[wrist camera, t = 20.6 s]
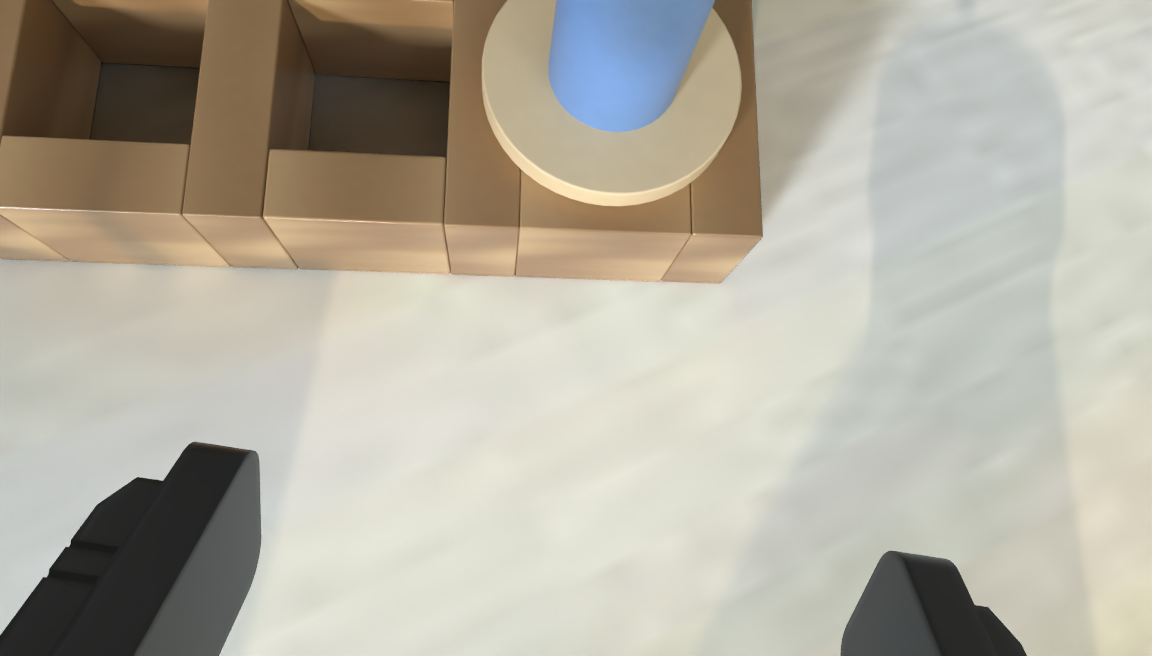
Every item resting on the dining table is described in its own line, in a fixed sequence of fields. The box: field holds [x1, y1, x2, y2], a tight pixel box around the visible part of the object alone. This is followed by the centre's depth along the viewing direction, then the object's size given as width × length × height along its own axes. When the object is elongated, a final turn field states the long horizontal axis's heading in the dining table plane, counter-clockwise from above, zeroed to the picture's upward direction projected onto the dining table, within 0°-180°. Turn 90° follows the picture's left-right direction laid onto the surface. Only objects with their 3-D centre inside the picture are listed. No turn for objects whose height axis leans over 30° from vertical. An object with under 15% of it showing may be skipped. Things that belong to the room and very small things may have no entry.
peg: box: [482, 0, 742, 206], centre depth 18 cm, size 6×6×13 cm
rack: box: [0, 0, 763, 283], centre depth 23 cm, size 20×8×4 cm, turn 90°
